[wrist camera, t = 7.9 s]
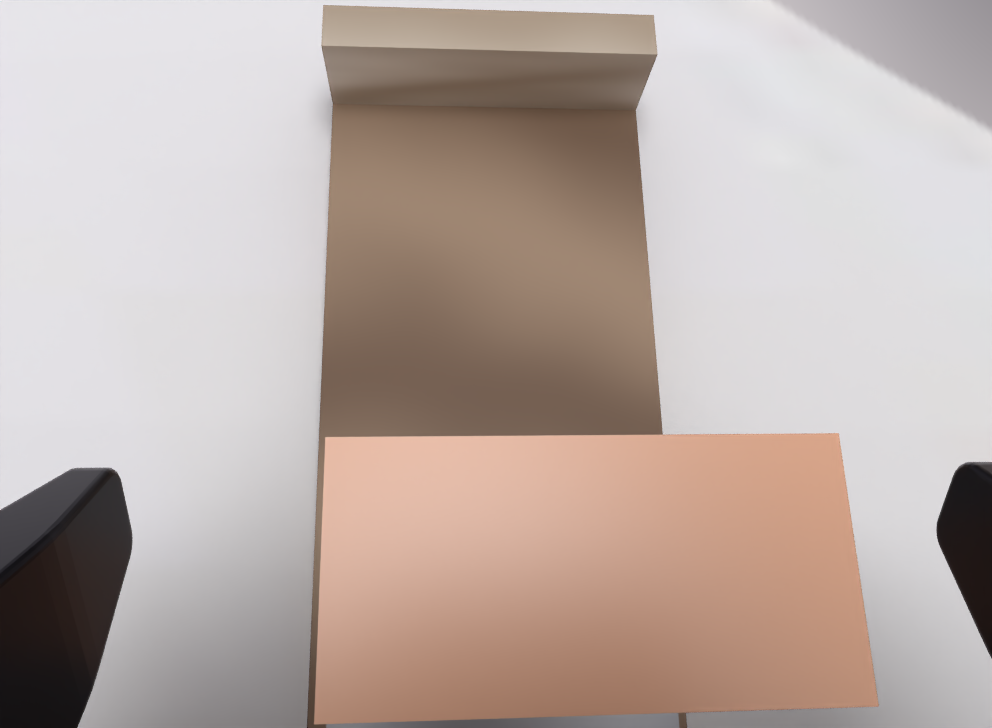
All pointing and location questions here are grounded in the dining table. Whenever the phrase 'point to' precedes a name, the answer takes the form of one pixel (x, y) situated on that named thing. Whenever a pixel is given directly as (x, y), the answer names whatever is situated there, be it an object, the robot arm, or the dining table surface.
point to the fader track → (484, 230)
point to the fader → (586, 580)
